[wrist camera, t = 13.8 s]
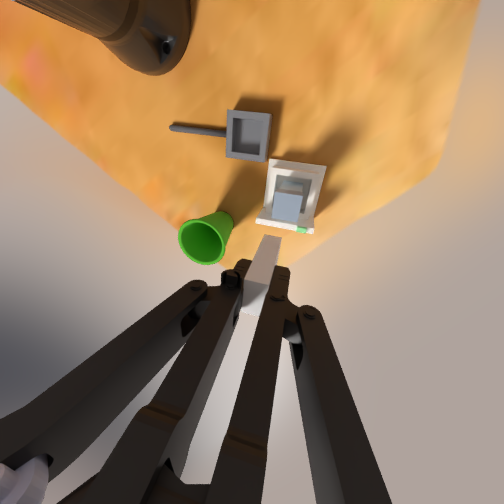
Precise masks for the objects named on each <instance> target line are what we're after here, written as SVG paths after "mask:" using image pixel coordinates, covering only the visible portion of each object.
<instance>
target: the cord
mask: <svg viewBox="0 0 504 504" xmlns="http://www.w3.org/2000/svg"><path fill="white" fill-rule="evenodd" d="M169 129H170V130H171V131H176V132H184V133H193V134H201V135H210V136H218V137H226V135H227V131H222V130H213V129H204V128H195V127H187V126H178V125H170V126H169Z"/></svg>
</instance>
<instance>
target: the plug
mask: <svg viewBox="0 0 504 504" xmlns="http://www.w3.org/2000/svg"><path fill="white" fill-rule="evenodd" d="M302 188H303V183H300V182H293V181H285V180H284V181H283V183H282V185H281V186H280V188H277V190H276V191H275V196H274V203H273V210H272V217H271V218H274V219H280V220H286V221H292V222H298V217H299V212H300V208H301V203H302V198H303V192H302Z"/></svg>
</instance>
